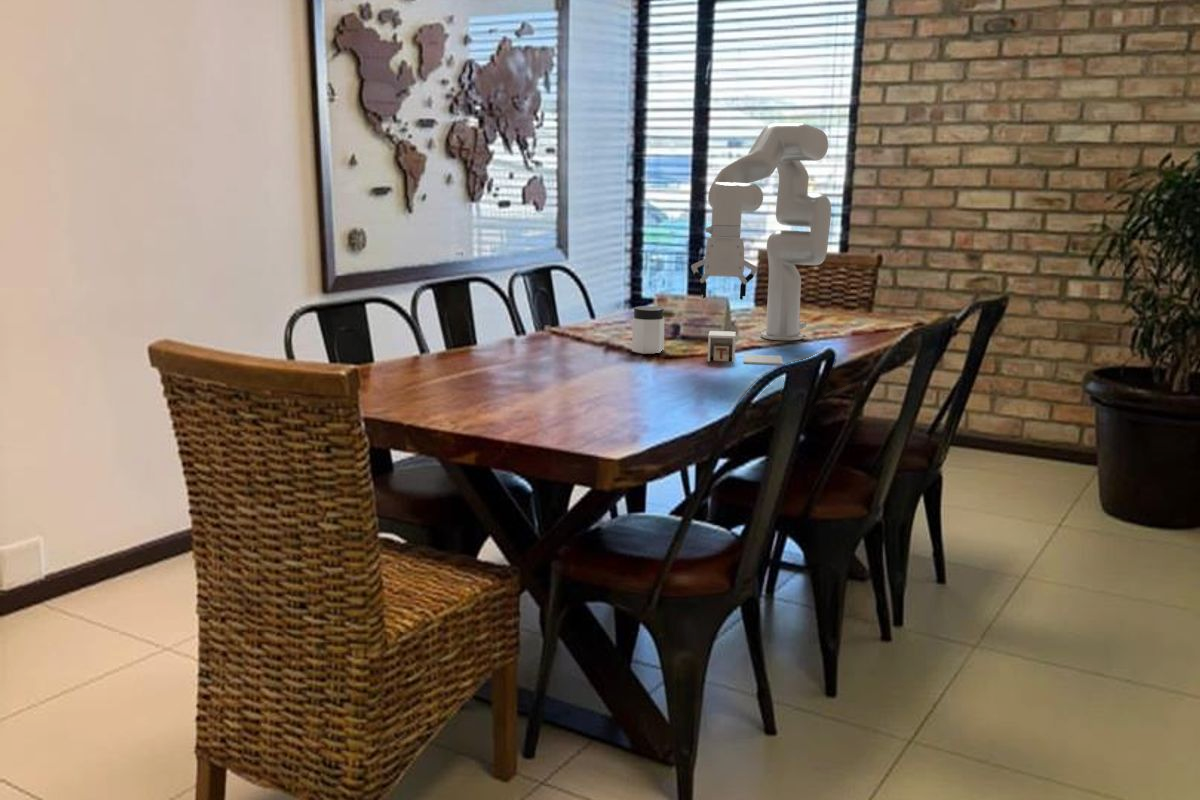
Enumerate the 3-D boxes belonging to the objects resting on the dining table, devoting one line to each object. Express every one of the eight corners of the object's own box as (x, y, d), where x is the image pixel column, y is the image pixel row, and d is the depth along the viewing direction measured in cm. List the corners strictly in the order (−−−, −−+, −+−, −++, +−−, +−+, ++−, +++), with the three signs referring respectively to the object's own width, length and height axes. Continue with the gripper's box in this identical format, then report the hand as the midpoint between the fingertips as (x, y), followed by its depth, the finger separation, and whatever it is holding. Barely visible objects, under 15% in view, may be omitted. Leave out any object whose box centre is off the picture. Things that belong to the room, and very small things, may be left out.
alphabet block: (708, 356, 277) (709, 330, 275) (734, 357, 276) (735, 331, 275) (707, 361, 270) (708, 335, 269) (734, 362, 269) (735, 336, 268)
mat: (744, 356, 278) (744, 354, 278) (781, 357, 276) (781, 355, 276) (743, 363, 268) (743, 361, 268) (782, 364, 267) (782, 363, 267)
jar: (670, 352, 283) (671, 308, 280) (647, 355, 278) (648, 311, 275) (648, 347, 290) (649, 305, 287) (626, 350, 285) (627, 307, 282)
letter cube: (713, 358, 276) (714, 343, 275) (728, 358, 275) (729, 343, 274) (713, 361, 272) (713, 346, 271) (728, 361, 271) (729, 346, 270)
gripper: (691, 232, 263) (688, 298, 267) (759, 234, 261) (756, 301, 264) (693, 230, 270) (690, 295, 274) (759, 232, 268) (756, 297, 272)
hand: (722, 298), depth 269 cm, fingers open, 9 cm apart
